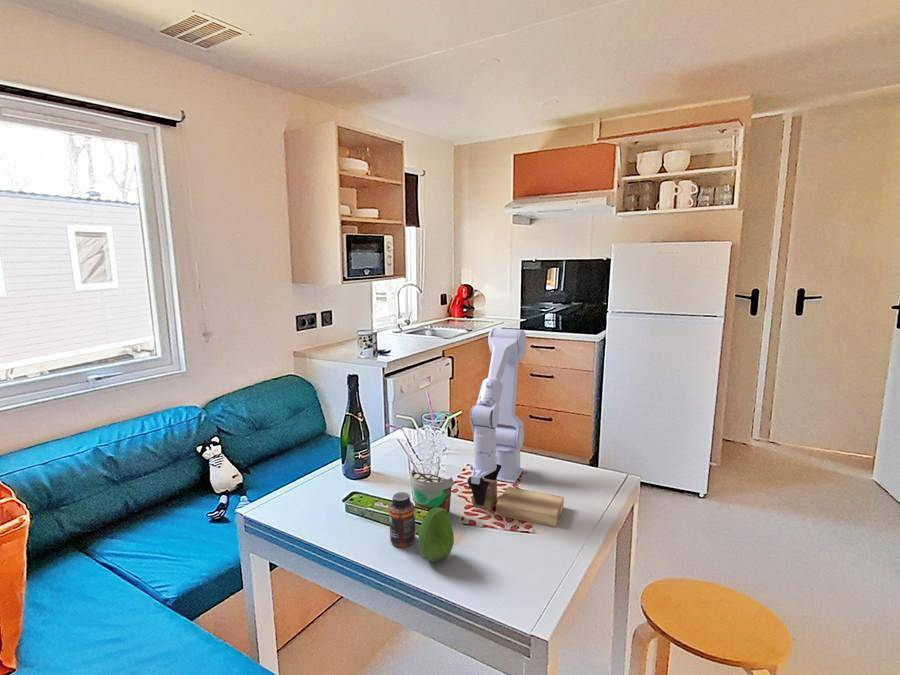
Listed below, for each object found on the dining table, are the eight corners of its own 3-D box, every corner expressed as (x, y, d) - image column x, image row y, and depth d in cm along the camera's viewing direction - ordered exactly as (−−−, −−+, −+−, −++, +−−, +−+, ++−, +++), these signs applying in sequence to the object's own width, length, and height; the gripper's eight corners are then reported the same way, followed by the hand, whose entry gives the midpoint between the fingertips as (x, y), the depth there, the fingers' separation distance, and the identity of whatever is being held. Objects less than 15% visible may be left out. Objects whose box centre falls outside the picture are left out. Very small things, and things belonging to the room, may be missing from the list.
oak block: (508, 496, 135) (508, 486, 134) (563, 507, 129) (563, 496, 128) (496, 514, 126) (496, 504, 125) (555, 527, 120) (555, 515, 119)
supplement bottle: (420, 537, 117) (419, 492, 115) (407, 551, 111) (405, 504, 109) (398, 531, 119) (397, 487, 117) (385, 544, 114) (383, 499, 112)
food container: (401, 513, 127) (399, 477, 125) (413, 502, 132) (412, 467, 131) (443, 525, 121) (442, 487, 120) (454, 513, 127) (454, 477, 125)
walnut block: (479, 498, 134) (479, 477, 133) (497, 501, 132) (496, 480, 131) (472, 507, 130) (472, 485, 129) (490, 510, 128) (490, 489, 127)
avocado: (461, 561, 107) (460, 510, 105) (430, 574, 103) (428, 521, 101) (441, 543, 114) (440, 495, 112) (411, 555, 110) (410, 505, 108)
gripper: (480, 437, 136) (480, 483, 139) (459, 457, 123) (460, 507, 126) (504, 441, 134) (504, 487, 136) (486, 462, 121) (486, 513, 123)
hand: (484, 497), depth 131 cm, fingers open, 7 cm apart
